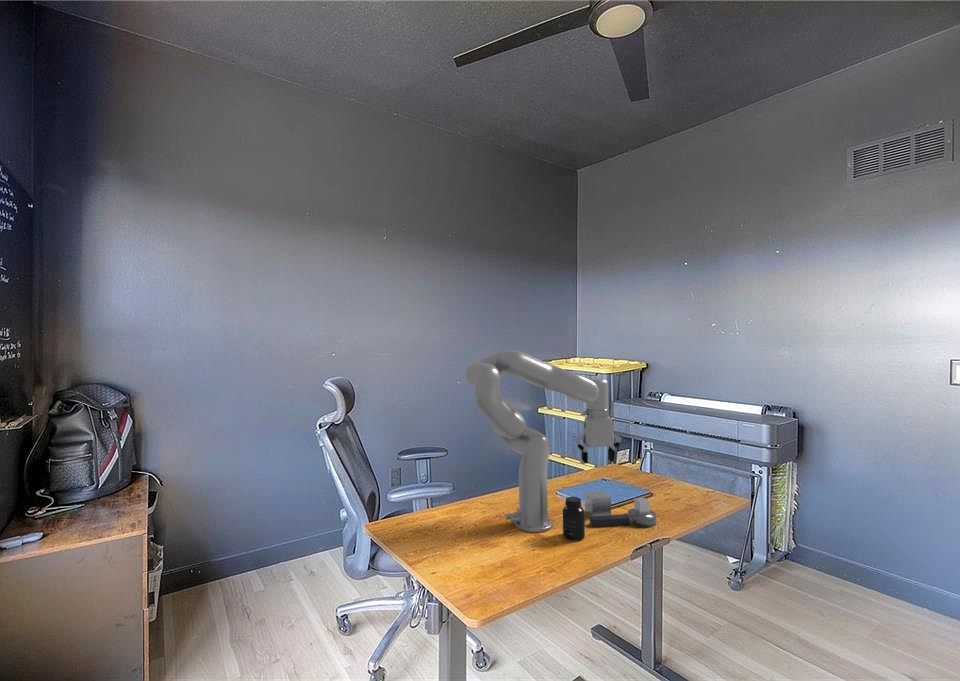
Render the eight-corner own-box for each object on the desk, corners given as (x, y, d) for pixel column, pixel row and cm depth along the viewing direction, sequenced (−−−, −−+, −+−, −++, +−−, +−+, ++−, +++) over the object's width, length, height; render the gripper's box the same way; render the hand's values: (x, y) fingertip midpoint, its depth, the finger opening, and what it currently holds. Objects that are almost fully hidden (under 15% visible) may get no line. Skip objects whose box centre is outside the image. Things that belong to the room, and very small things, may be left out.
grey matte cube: (592, 518, 159) (592, 498, 158) (584, 511, 165) (584, 491, 165) (610, 517, 160) (610, 497, 160) (602, 509, 166) (602, 490, 166)
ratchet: (597, 531, 148) (597, 508, 148) (586, 520, 157) (586, 498, 157) (661, 526, 152) (661, 503, 152) (647, 515, 161) (647, 494, 161)
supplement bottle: (567, 530, 149) (567, 493, 149) (587, 535, 145) (587, 497, 145) (559, 538, 143) (559, 500, 143) (580, 543, 140) (580, 504, 139)
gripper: (578, 416, 157) (578, 466, 157) (625, 414, 160) (626, 463, 160) (570, 412, 164) (571, 460, 165) (615, 410, 167) (616, 457, 167)
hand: (598, 461), depth 162 cm, fingers open, 9 cm apart
